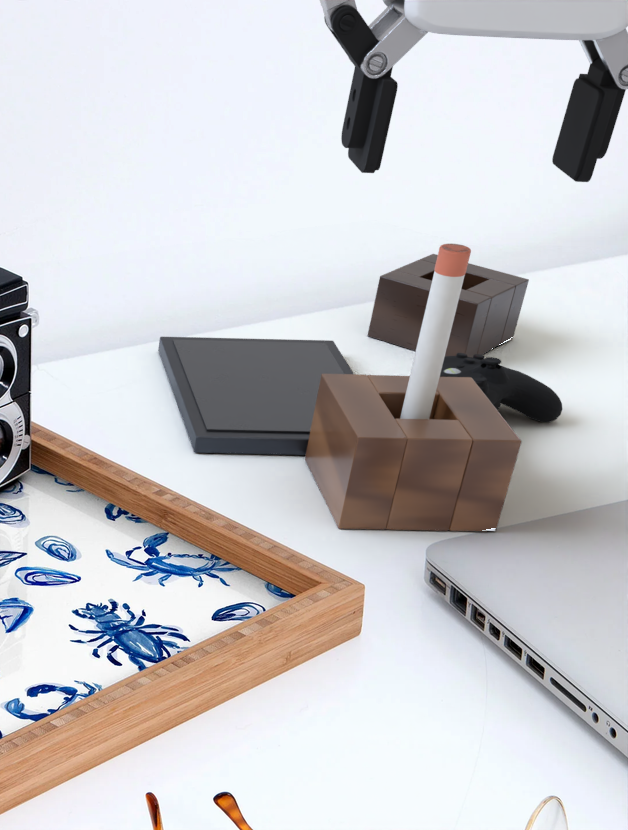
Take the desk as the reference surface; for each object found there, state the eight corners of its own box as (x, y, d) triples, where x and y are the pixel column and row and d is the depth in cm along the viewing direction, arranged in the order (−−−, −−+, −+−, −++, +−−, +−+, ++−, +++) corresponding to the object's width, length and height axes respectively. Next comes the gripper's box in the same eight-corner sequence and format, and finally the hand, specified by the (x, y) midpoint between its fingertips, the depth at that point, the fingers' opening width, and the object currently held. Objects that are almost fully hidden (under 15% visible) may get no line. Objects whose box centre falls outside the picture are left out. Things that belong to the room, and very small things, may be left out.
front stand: (449, 463, 80) (472, 376, 77) (496, 532, 74) (522, 440, 71) (304, 459, 80) (321, 373, 77) (338, 528, 74) (358, 437, 71)
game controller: (506, 454, 78) (423, 354, 79) (439, 506, 82) (360, 411, 83) (577, 403, 84) (499, 311, 85) (511, 454, 88) (437, 366, 89)
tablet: (330, 355, 93) (333, 338, 92) (392, 457, 81) (397, 439, 80) (157, 351, 93) (160, 334, 92) (194, 453, 81) (196, 435, 80)
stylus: (406, 488, 78) (466, 243, 70) (413, 501, 76) (475, 252, 69) (379, 488, 78) (436, 242, 70) (386, 500, 76) (445, 252, 69)
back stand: (419, 311, 100) (433, 253, 97) (513, 339, 96) (529, 279, 93) (366, 336, 96) (379, 275, 93) (462, 366, 92) (477, 303, 89)
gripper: (753, -273, 61) (619, 155, 71) (339, -292, 60) (263, 140, 70) (847, -267, 54) (686, 201, 64) (386, -288, 54) (296, 185, 64)
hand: (466, 169), depth 67 cm, fingers open, 9 cm apart
